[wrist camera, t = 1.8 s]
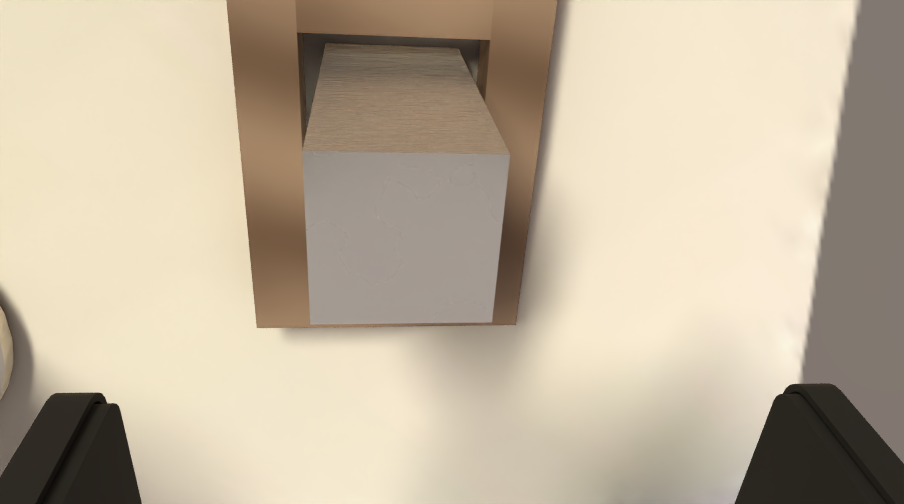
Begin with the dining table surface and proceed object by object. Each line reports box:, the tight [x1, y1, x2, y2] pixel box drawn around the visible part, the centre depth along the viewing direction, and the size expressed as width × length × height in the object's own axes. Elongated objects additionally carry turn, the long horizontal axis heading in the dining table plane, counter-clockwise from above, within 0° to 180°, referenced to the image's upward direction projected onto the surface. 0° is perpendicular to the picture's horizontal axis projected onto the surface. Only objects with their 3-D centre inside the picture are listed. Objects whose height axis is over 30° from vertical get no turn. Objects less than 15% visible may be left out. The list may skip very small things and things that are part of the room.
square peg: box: [302, 43, 510, 325], centre depth 20 cm, size 4×4×10 cm
